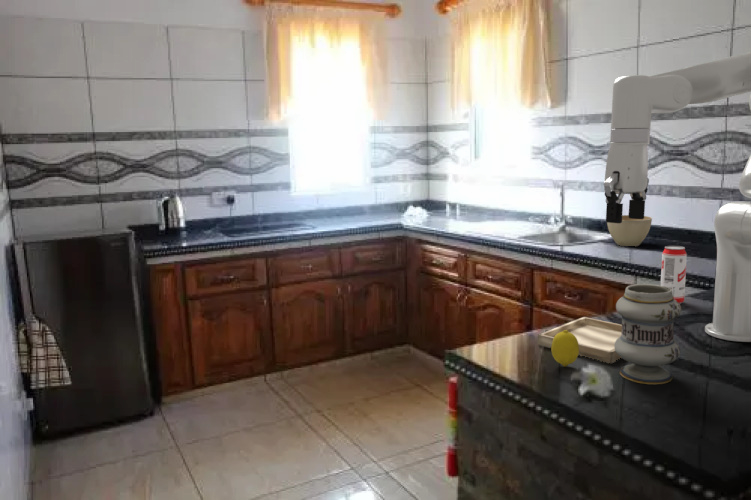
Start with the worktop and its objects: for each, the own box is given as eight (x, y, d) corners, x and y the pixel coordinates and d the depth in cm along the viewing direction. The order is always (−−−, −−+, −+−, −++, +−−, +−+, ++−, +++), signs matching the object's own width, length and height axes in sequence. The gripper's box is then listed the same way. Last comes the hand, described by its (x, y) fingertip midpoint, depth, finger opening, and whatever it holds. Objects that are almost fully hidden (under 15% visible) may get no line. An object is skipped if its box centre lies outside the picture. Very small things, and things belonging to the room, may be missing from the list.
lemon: (573, 361, 133) (573, 325, 132) (582, 370, 128) (583, 333, 127) (547, 362, 133) (548, 326, 132) (555, 372, 128) (556, 334, 126)
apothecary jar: (614, 361, 132) (617, 279, 129) (676, 368, 128) (681, 283, 125) (612, 382, 121) (615, 293, 118) (680, 390, 117) (686, 297, 114)
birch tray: (583, 326, 158) (583, 316, 157) (654, 341, 144) (654, 331, 144) (538, 344, 145) (538, 334, 144) (610, 363, 131) (611, 352, 131)
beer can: (656, 303, 177) (659, 247, 174) (664, 298, 181) (666, 244, 179) (679, 306, 173) (683, 250, 170) (687, 301, 177) (690, 246, 174)
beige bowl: (619, 240, 282) (620, 214, 280) (658, 244, 268) (659, 217, 266) (597, 245, 271) (598, 218, 269) (637, 250, 257) (638, 221, 255)
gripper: (632, 138, 136) (627, 216, 139) (591, 138, 125) (587, 222, 127) (666, 137, 130) (661, 218, 133) (627, 137, 119) (622, 226, 122)
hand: (625, 220), depth 130 cm, fingers open, 9 cm apart
